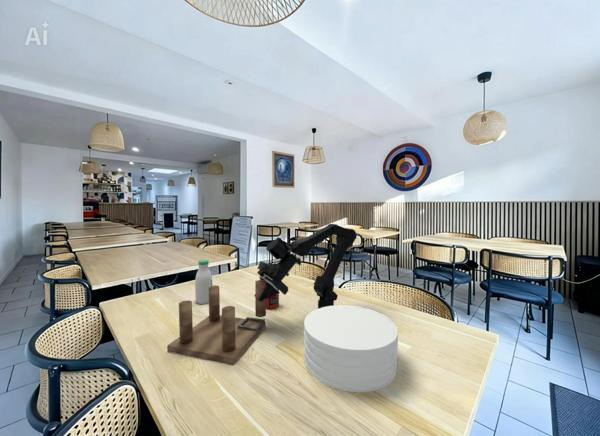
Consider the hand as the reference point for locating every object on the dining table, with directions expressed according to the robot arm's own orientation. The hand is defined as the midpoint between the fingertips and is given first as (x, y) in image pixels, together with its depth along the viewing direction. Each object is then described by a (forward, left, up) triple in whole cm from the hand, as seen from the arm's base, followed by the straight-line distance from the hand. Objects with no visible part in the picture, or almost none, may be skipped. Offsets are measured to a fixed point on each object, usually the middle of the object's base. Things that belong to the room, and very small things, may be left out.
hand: (257, 298), depth 97 cm
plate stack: (-34, +13, -12) cm, 38 cm away
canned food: (+1, -22, -12) cm, 25 cm away
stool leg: (-1, -1, -7) cm, 7 cm away
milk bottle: (+34, -22, -12) cm, 42 cm away
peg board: (+11, +8, -12) cm, 18 cm away
